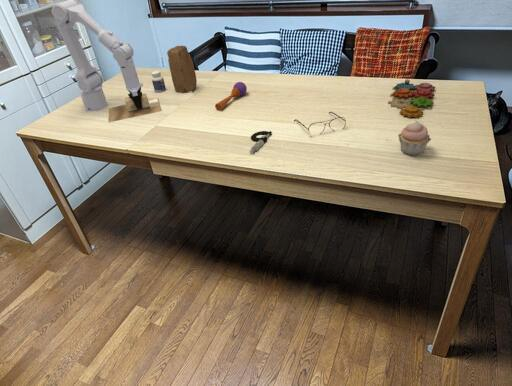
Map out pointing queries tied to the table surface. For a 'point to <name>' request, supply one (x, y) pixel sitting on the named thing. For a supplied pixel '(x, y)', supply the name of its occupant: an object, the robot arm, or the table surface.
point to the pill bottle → (158, 82)
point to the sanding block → (132, 106)
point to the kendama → (232, 95)
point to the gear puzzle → (412, 98)
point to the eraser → (153, 103)
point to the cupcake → (414, 138)
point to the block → (182, 69)
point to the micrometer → (259, 140)
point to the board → (123, 112)
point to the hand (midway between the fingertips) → (139, 106)
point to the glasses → (324, 123)
